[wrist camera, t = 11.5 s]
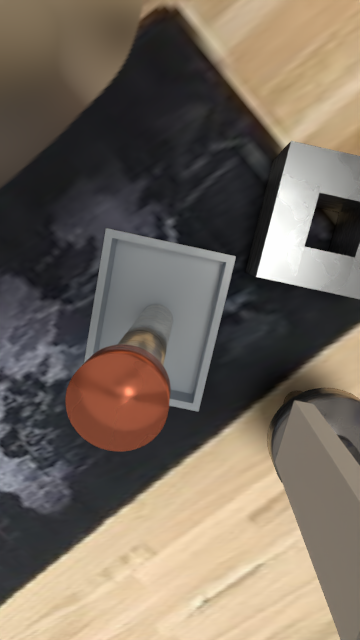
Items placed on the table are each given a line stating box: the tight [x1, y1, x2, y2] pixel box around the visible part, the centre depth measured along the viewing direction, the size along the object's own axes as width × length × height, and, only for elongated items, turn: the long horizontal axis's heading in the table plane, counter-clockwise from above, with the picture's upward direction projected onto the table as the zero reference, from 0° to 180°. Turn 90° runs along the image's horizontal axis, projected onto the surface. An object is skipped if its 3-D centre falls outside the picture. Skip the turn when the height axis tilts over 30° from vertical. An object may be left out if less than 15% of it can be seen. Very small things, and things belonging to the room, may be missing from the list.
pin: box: [66, 304, 173, 451], centre depth 21 cm, size 4×4×16 cm
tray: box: [84, 228, 236, 411], centre depth 29 cm, size 13×10×2 cm
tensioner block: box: [245, 141, 360, 299], centre depth 26 cm, size 9×9×5 cm
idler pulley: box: [267, 388, 360, 482], centre depth 27 cm, size 8×8×9 cm
